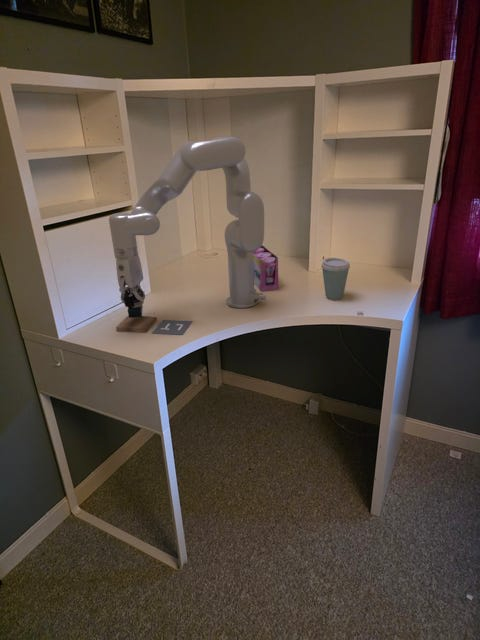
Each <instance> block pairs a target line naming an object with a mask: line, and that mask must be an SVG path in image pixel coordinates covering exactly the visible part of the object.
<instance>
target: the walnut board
mask: <svg viewBox="0 0 480 640" xmlns="http://www.w3.org/2000/svg"><path fill="white" fill-rule="evenodd" d="M157 321H158V317H157V316H151V315H150V316H147V315H142V317H133V318H129V315H127V316H126V317H125V318H124V319H123V320H122V321H121V322H120V323H118V325H116V327H115V329H116V332H124V333H125V332H127V333H148V332H149V331H150V330H151V328H152V327H153V326H154V325H155V324H156V323H157Z"/></svg>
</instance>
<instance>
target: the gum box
mask: <svg viewBox="0 0 480 640" xmlns="http://www.w3.org/2000/svg"><path fill="white" fill-rule="evenodd" d="M253 260H254V286H256V287H257V289H259V290H260V292H266V291H274V290H275V291H276V290H279V257H278V256H277V255H275V254H274V253H273V252H272V251H270V250H269V249H268V248H266V246H264V245H263V244H262V246H261V247H260V248H259V249H258V250H257V251H255V252H253Z"/></svg>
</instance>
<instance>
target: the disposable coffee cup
mask: <svg viewBox="0 0 480 640" xmlns="http://www.w3.org/2000/svg"><path fill="white" fill-rule="evenodd" d="M350 264H351V263H349V261H348V260H346V259H343V258H339V257H326V258H325V259H323V261H322V263H321V270H322V276H323V284H324V285H323V286H324V292H325V297H326V299H327V300H329V301H339V300H342V299H343V297H344V294H345V289H346V285H347V280H348V275H349V270H350V268H351V267H350V266H351V265H350Z"/></svg>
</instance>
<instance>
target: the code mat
mask: <svg viewBox="0 0 480 640" xmlns="http://www.w3.org/2000/svg"><path fill="white" fill-rule="evenodd" d="M192 323H193V321H192V320H179V319H178V320H176V319H162V320H161V321H160V323H158V325H157V326H156V327H155V329H154V330H152V332H151V334H153V335H169V336H170V335H172V336H173V335H175V336H183V335H184V334H185V333H186V331H187V329H188V328H189V327H190V326H191V324H192Z"/></svg>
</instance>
